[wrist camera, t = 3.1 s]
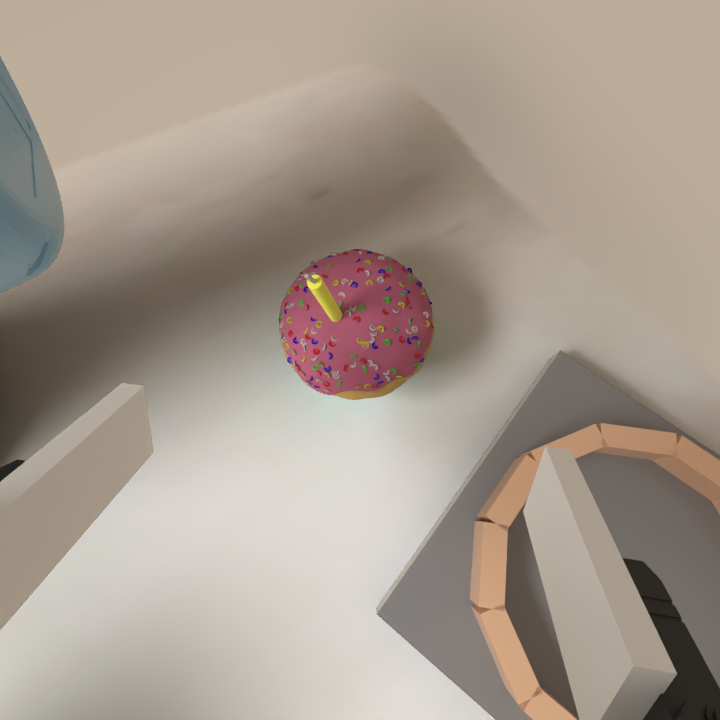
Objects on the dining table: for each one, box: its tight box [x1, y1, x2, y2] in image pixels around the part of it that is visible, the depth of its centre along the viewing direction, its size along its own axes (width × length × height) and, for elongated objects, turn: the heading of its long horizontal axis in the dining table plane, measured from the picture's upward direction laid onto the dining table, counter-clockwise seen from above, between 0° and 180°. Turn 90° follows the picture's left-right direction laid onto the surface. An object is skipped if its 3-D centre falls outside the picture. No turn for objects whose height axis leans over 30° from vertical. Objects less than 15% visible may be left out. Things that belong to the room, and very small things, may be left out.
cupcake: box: [279, 249, 434, 400], centre depth 24 cm, size 9×8×12 cm
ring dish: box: [376, 351, 720, 720], centre depth 23 cm, size 18×18×4 cm
